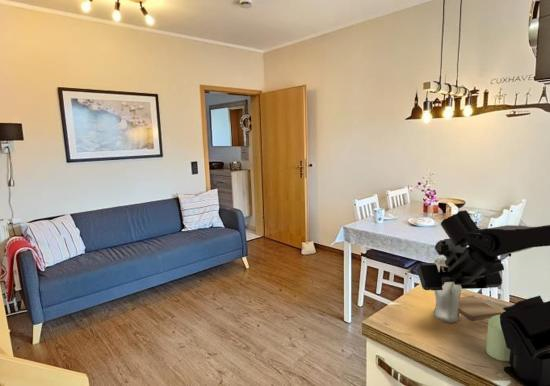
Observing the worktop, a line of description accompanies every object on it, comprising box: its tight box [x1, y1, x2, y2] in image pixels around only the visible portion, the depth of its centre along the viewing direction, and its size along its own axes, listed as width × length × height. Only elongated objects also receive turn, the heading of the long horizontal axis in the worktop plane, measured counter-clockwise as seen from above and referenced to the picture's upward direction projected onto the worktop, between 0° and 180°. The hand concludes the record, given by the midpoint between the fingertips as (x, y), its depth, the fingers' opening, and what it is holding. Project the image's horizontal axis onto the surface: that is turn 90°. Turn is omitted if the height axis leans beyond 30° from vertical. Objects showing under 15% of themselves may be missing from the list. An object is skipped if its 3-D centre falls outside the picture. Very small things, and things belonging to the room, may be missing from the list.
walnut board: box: [458, 295, 503, 321], centre depth 94 cm, size 10×9×1 cm
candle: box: [485, 315, 510, 362], centre depth 74 cm, size 5×5×8 cm
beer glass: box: [433, 257, 463, 324], centre depth 89 cm, size 7×7×15 cm
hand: (445, 287), depth 91 cm, fingers open, 7 cm apart
